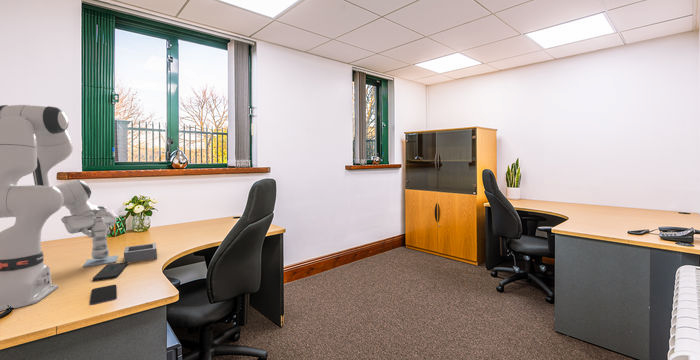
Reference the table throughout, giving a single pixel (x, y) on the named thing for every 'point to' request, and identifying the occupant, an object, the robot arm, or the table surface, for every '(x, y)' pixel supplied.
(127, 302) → the table surface
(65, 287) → the table surface
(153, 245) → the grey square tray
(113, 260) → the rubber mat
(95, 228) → the plastic bottle
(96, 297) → the smartphone
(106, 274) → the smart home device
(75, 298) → the table surface
